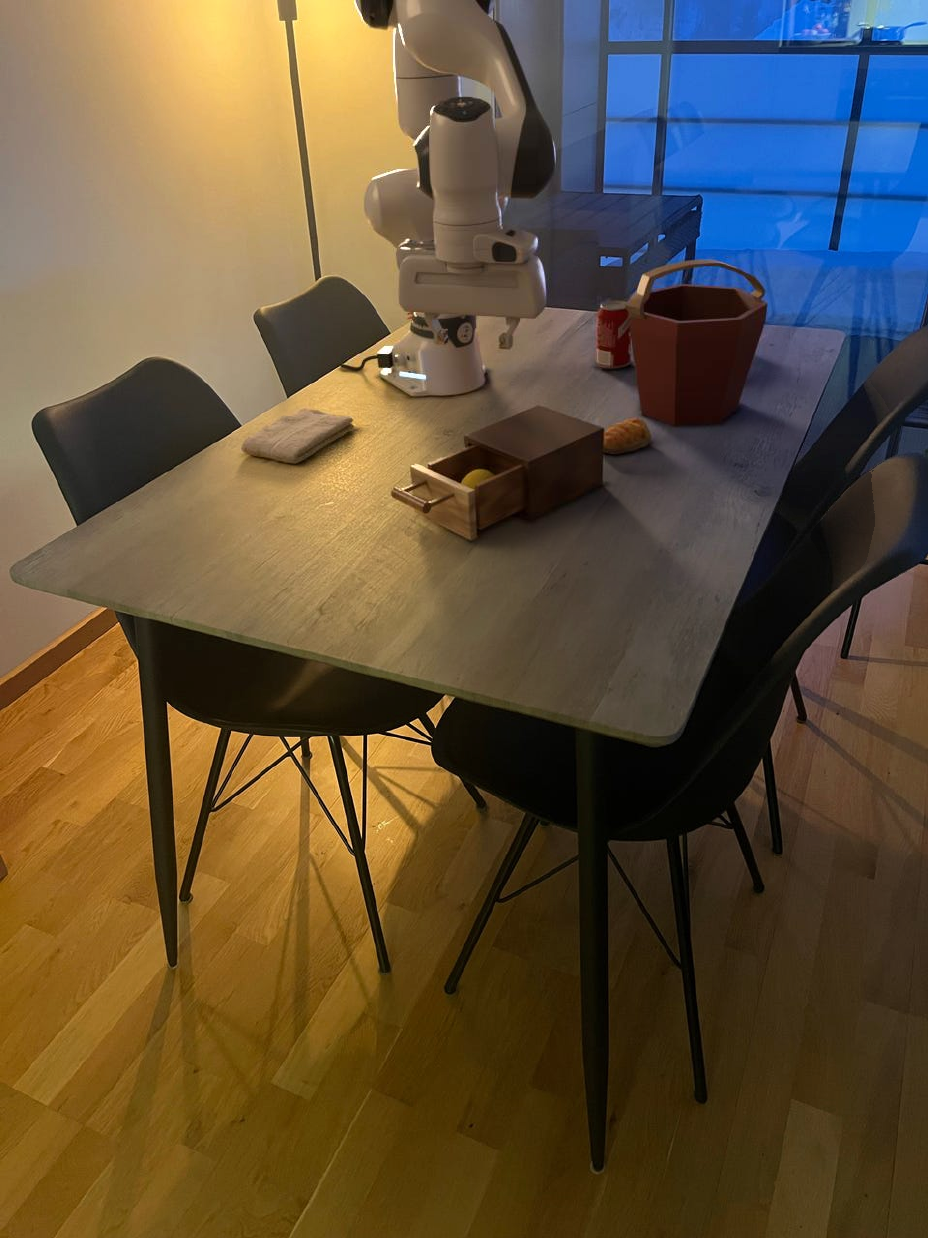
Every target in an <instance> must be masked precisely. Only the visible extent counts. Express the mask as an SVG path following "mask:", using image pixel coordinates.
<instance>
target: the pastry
mask: <svg viewBox="0 0 928 1238" xmlns="http://www.w3.org/2000/svg"><path fill="white" fill-rule="evenodd" d="M652 438H653V437H652V434H651V430H650V429H649V427H648V425H647V423H646V422H645V421H644V420H642V419H641V418H639V417H634V418H631V417H628V418H627V419H625V420H623V421H620V422H616V423H613V424H611V425H610V427H608V428H607V429H606V430H604V451H603V453H606V454H610V455H620V454H623V453H628V452H632V451H636V450H639V449H640V448H645V447H647V446H648V445H649V443H650V442H651V441H652Z"/></svg>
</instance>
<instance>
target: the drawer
mask: <svg viewBox="0 0 928 1238" xmlns="http://www.w3.org/2000/svg"><path fill="white" fill-rule="evenodd" d="M409 469H410V480H411V484H410V485H407V486H404V487H403V488H401V487H398V486H395V487H394V488H392V489H391V491H390V496H391V498H393V499H395V500H397V501H399V502H401V503H403V504H404V505H406V506H409V507H411V508H412V509H413V511H414V513H415V514H417V515H419V516H422V517H424V518H426V519H427V520H429V521H432V522H434V523H436V524H437V525H440V526H441V527H444V528H446V529H447V530H450V532H451V531H452V532H453V533H455V534H457V535H459V536H461V537H464V538H465V539H467V540H469V541H473V540H475V539H477V538H478V531H477V530H478V529H479V530H483V529H486V528H487V527H489V526H491V525H493V524H495V523H497V522H500V521H502V520H504V519H505V518H508V517H511V516H512V515H514V514H516V512H518V511H520V510H522V509H524V508H526V503H525V466H524V465H522V464H519V463H517V462H514V461H512V460H510V459H507V458H505V457H502V456H500V455H497V454H495V453H492V452H490V451H488V450H485V449H483V448H480V447H478V446H475V445H471V446H469V447H466V448H465V447H464V448H462V449H460V450H456V451H454V452H452V453H450V454H447V455H445V456H443V457H440V458H437V459H435V460H433V461H430V462H428V463H427V467H425V466H423V465H420V464H418V463H414V464H412V465H410V466H409ZM478 469H484V470H488V471H490V472H491V473H492V474H494V475H495V476H493V477H491V478H489V479H486V480H484V481H482V482H480V483H478V484H475V492H474V490H473V489H471V488H469V487H467V486H464V485H462V484H461V482H462V480H463V479H464V478H465V476H466V475H467V474H469V473H470V472H472V471H474V470H478ZM410 492H412V493H410ZM475 500H476V510H475Z"/></svg>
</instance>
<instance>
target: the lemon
mask: <svg viewBox="0 0 928 1238" xmlns="http://www.w3.org/2000/svg"><path fill="white" fill-rule="evenodd" d="M493 476H495V475H494V474H492V473H491V472H490V471H488V470H484V469H478V470H474V471H472V472H470V473H469V474H467V475H466V476H465V478H464V479H463V480H462V482H461V484H462V485H464V486H467V487H469V488H471V489H473V490H474V492H475V484H478V483H480V482H482V481H484V480H486V479H489V478H491V477H493ZM475 510H476V500H475Z"/></svg>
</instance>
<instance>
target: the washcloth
mask: <svg viewBox="0 0 928 1238" xmlns="http://www.w3.org/2000/svg"><path fill="white" fill-rule="evenodd" d="M353 421H354V419H353V418H352V417H351V416H349V415H339V414H337V415H336V414H331V413H327V412H324V411H320V410H319V409H309V408H301V409H299V410H297V412H294V413H292V414H290V415H282V416H280V417H279V418H278V419H276V420H275V421H274V422H272V423H270V424H268V425H266V426H265V427H262V428H261V429H260V430H258V431H257V432H255V433H253V434H251V435H249V436H247V438H246V439H245V440H244V441H243V443H241V451H242V452H243V453H245V454H247V455H251V456H255V457H260V458H267V459H270V460H273V461H275V462H276V461H277V462H283V463H286V464H294V465H297V464H299V463H301V462H303V461H304V460H306V459H307V458H309V457H310V456H312V455H314V454H315V453H316V452H319V450H321V449H322V448H324V447H326V446H327V445H330V444H331V443H333V442H335V441H336V440H338V439H340V438H342V437H343V436H344V435H346V434H347V433H349V432H352V431H353V430H354V428H355V426H354V424H352V423H353Z"/></svg>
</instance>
